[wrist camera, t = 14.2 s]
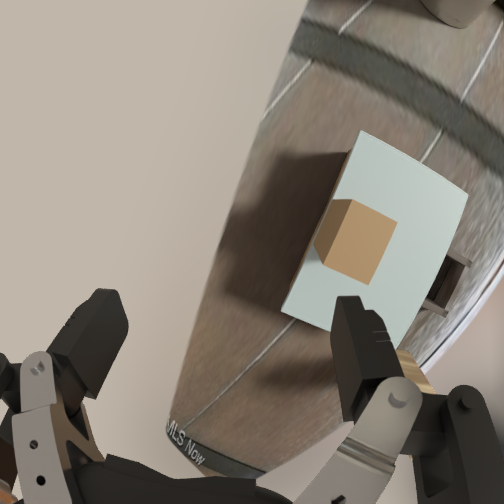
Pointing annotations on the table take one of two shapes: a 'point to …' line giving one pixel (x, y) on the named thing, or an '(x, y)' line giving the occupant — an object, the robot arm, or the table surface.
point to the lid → (378, 239)
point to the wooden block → (413, 373)
